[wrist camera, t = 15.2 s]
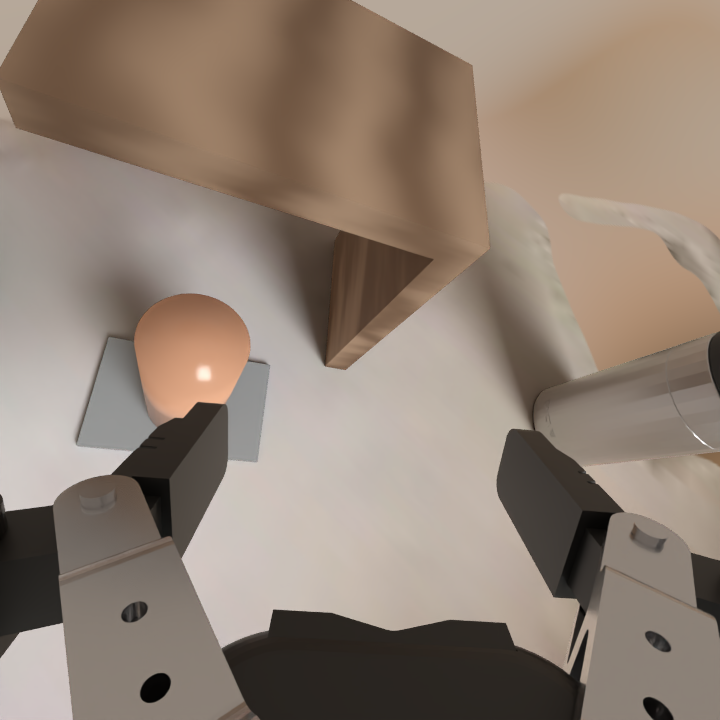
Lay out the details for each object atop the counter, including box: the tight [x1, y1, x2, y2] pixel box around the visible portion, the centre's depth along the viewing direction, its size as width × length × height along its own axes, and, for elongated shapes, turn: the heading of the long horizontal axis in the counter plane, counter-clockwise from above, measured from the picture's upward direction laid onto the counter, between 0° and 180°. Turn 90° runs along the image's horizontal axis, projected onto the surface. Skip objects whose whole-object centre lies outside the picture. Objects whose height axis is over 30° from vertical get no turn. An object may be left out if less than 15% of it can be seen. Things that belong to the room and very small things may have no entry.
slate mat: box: [77, 337, 270, 462], centre depth 31 cm, size 12×8×1 cm, turn 87°
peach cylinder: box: [134, 294, 250, 427], centre depth 25 cm, size 5×5×12 cm
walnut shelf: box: [0, 0, 490, 370], centre depth 28 cm, size 20×14×20 cm
